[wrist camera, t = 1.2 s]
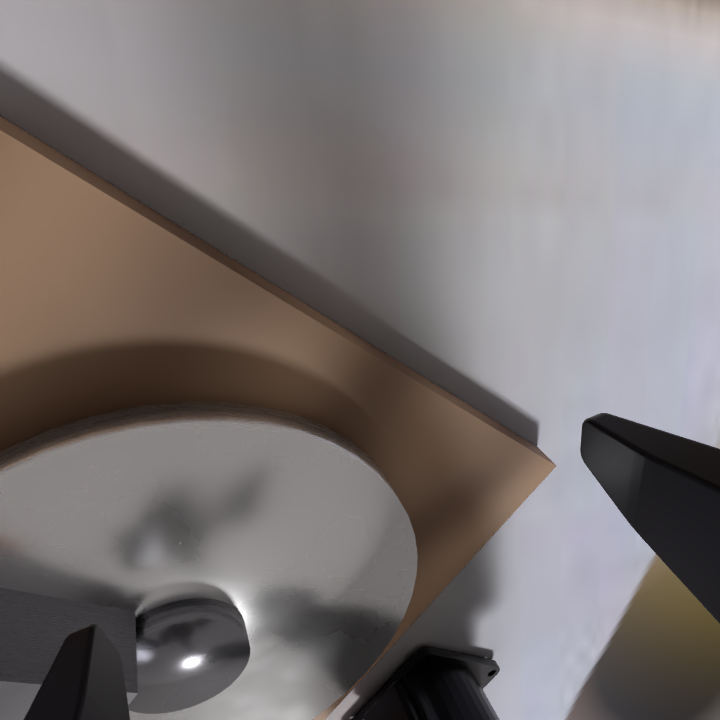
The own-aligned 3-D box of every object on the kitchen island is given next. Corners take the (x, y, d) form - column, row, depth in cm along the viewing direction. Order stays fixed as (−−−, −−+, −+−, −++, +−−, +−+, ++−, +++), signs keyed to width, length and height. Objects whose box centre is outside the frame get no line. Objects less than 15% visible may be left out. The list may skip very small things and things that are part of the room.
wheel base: (538, 447, 23) (556, 465, 22) (250, 768, 27) (255, 795, 26) (-17, 105, 11) (-29, 112, 10) (-377, 761, 15) (-411, 810, 14)
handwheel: (483, 500, 21) (554, 591, 18) (242, 770, 24) (263, 892, 21) (-140, 208, 10) (-267, 296, 7) (-431, 764, 13) (-619, 1017, 10)
